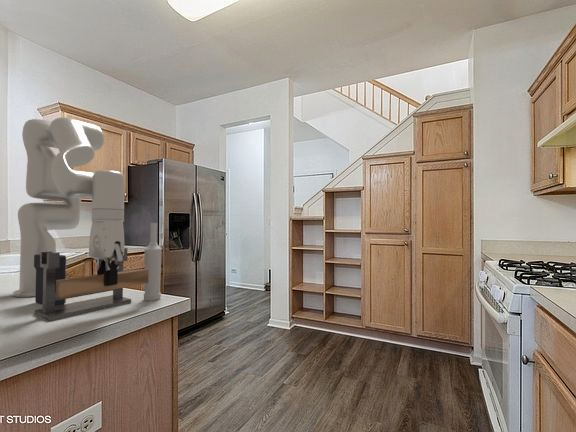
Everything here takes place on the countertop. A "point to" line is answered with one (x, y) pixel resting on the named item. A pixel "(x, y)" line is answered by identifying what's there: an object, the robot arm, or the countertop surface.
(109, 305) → the hook stand
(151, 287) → the bottle
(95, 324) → the countertop surface
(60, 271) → the black notched bar
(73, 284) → the rail
